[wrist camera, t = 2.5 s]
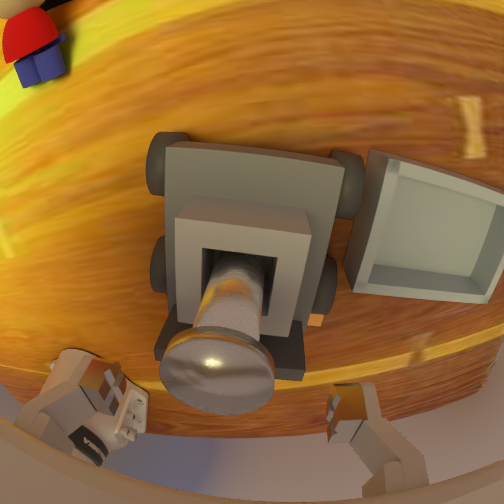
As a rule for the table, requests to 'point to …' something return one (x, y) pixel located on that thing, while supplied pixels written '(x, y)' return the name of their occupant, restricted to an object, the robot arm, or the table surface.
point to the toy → (32, 40)
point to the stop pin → (224, 343)
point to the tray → (425, 233)
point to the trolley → (250, 232)
